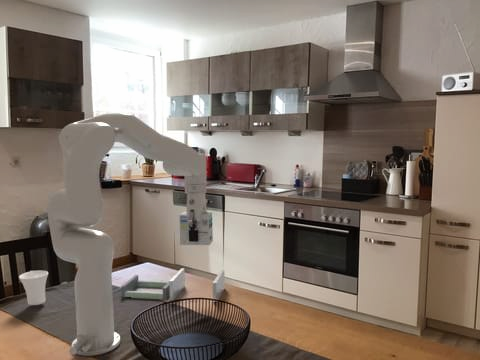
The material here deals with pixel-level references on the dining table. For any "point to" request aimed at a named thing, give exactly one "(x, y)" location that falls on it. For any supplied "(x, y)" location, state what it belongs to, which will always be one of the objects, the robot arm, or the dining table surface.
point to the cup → (34, 286)
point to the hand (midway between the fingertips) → (196, 238)
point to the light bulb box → (203, 229)
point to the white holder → (179, 283)
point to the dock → (134, 282)
